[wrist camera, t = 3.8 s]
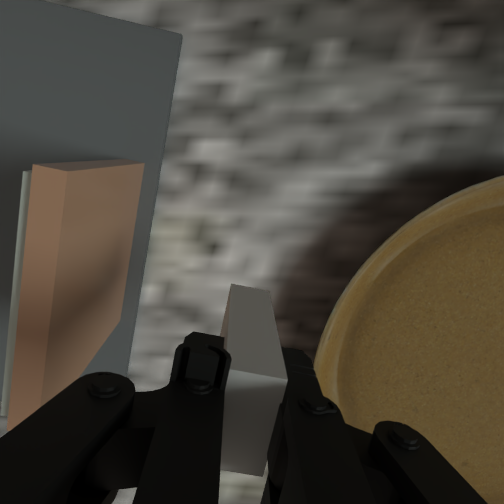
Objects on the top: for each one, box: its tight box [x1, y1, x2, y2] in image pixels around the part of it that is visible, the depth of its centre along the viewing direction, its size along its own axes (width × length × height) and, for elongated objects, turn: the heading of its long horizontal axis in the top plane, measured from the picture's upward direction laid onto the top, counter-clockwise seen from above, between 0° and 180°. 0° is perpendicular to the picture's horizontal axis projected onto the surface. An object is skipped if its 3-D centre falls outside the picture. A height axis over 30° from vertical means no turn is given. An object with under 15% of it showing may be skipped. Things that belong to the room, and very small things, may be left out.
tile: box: [0, 159, 145, 431], centre depth 18 cm, size 9×1×10 cm, turn 168°
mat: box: [0, 0, 183, 402], centre depth 23 cm, size 22×14×1 cm, turn 168°
